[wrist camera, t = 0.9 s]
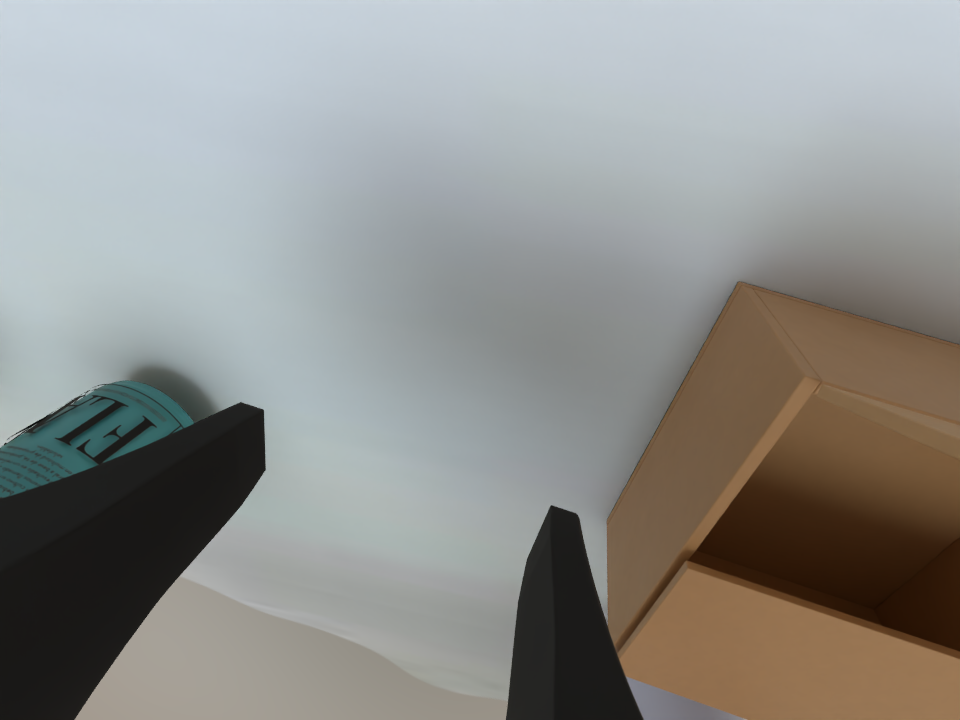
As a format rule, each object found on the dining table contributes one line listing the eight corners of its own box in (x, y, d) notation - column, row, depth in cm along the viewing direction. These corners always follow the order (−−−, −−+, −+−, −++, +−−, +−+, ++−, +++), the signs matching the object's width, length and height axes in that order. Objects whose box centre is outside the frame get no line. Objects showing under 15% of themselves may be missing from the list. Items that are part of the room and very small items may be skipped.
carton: (738, 280, 16) (817, 392, 10) (1128, 392, 16) (1460, 586, 10) (606, 520, 23) (607, 671, 17) (872, 608, 22) (973, 801, 16)
